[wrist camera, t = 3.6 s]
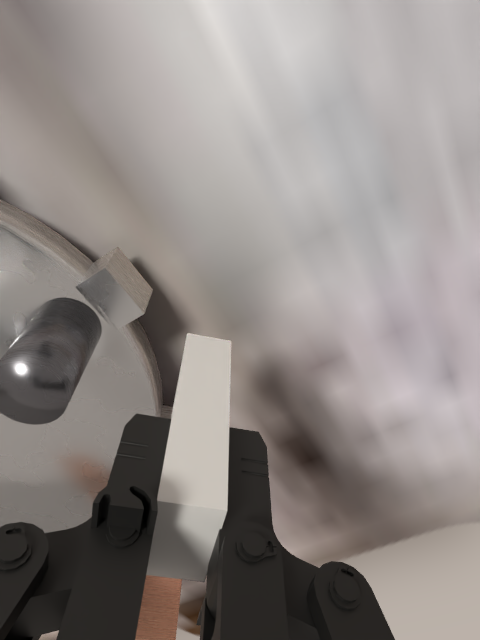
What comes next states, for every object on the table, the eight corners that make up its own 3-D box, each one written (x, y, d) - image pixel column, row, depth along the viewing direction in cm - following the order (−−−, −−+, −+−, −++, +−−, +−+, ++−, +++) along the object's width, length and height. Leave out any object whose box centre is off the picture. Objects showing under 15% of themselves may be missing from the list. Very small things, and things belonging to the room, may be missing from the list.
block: (-57, 298, 20) (-162, 385, 15) (228, 540, 29) (225, 649, 23) (-137, 363, 21) (-257, 462, 16) (155, 573, 30) (138, 680, 25)
